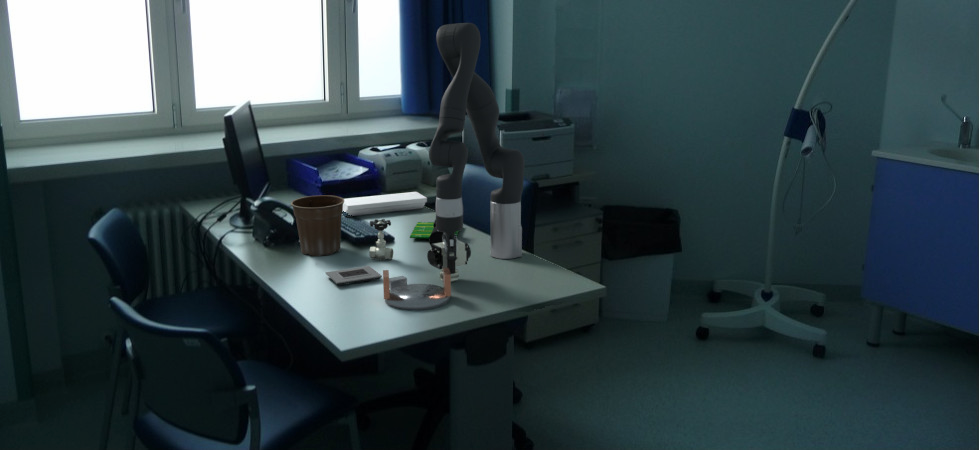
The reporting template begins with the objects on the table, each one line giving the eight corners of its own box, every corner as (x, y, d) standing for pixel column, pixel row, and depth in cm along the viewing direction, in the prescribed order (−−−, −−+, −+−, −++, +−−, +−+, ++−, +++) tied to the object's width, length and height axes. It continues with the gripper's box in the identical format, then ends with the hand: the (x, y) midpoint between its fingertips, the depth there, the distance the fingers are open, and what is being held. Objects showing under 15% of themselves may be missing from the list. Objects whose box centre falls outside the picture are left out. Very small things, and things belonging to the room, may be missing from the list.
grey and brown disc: (447, 287, 246) (447, 261, 244) (452, 308, 230) (452, 281, 228) (383, 290, 244) (382, 264, 242) (384, 312, 228) (383, 284, 226)
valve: (388, 263, 268) (387, 225, 265) (367, 262, 269) (366, 223, 266) (395, 257, 274) (394, 219, 271) (374, 256, 275) (373, 218, 272)
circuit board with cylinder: (417, 207, 307) (461, 208, 306) (417, 226, 309) (461, 227, 308) (403, 230, 278) (452, 231, 277) (404, 251, 280) (452, 252, 279)
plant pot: (300, 261, 270) (297, 209, 266) (288, 247, 285) (285, 198, 280) (352, 254, 277) (350, 204, 273) (339, 241, 291) (336, 193, 287)
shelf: (339, 213, 328) (338, 199, 327) (416, 205, 340) (416, 191, 339) (348, 220, 318) (347, 205, 317) (427, 211, 330) (426, 197, 329)
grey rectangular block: (403, 284, 250) (402, 275, 249) (407, 286, 248) (407, 278, 247) (386, 287, 247) (386, 278, 247) (390, 289, 245) (390, 281, 245)
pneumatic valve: (427, 282, 251) (426, 241, 248) (462, 275, 257) (462, 234, 254) (437, 287, 246) (436, 245, 243) (473, 280, 253) (472, 239, 250)
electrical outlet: (337, 289, 246) (336, 281, 245) (325, 279, 255) (325, 271, 254) (382, 282, 252) (381, 274, 251) (369, 272, 261) (369, 264, 260)
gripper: (465, 218, 240) (465, 276, 244) (460, 206, 254) (461, 260, 258) (437, 219, 239) (438, 277, 243) (434, 207, 253) (435, 261, 257)
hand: (450, 268), depth 251 cm, fingers open, 8 cm apart
